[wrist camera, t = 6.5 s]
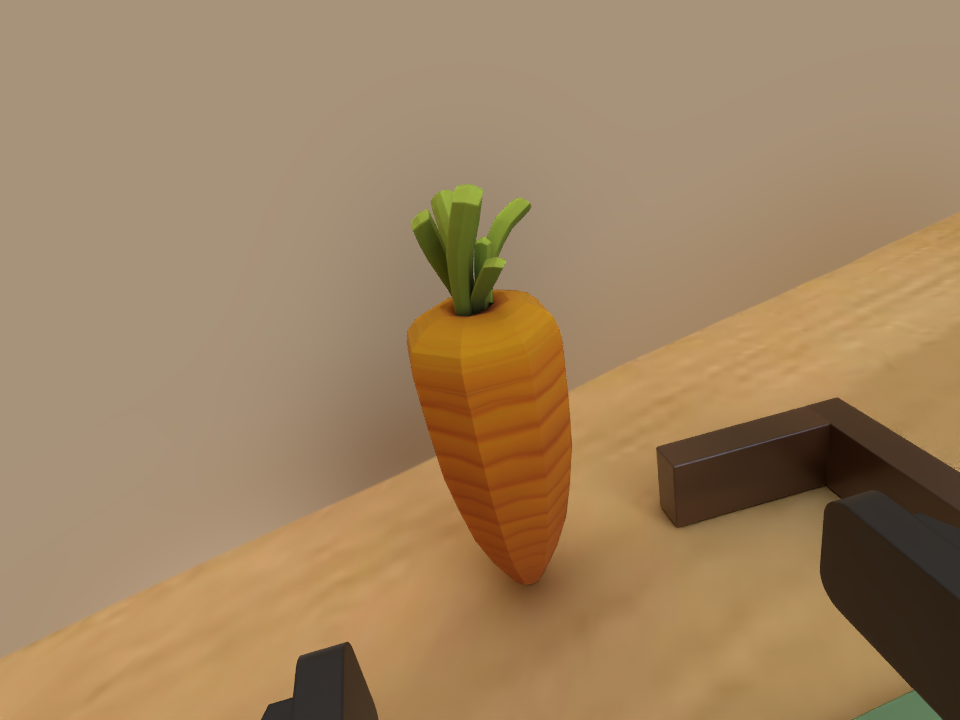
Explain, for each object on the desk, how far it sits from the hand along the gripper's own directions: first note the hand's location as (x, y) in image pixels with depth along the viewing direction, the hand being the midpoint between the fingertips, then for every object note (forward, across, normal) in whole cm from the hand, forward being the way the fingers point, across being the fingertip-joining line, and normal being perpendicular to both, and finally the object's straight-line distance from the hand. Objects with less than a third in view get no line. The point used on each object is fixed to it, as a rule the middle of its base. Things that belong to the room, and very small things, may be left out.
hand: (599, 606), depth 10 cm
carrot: (+10, 0, +10) cm, 14 cm away
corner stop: (+8, -10, +9) cm, 16 cm away
